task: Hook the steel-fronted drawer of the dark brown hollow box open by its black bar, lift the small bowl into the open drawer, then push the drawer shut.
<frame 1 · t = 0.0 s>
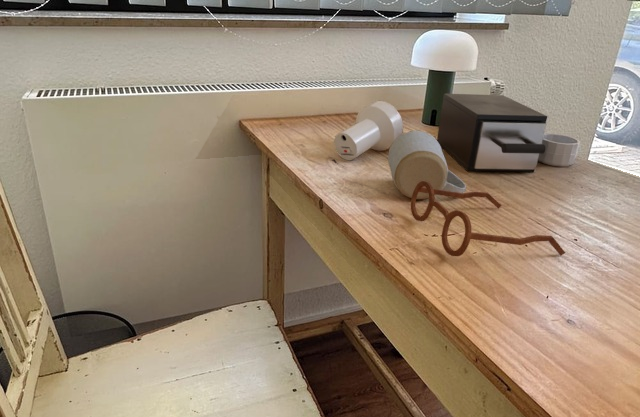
glasses: (480, 235, 57), on the table
drawer: (496, 137, 79), point 5 cm above the table, slide at 0.0 cm
dark brown hollow box: (481, 156, 85), on the table
spotlight: (366, 154, 84), on the table
ceramic mug: (423, 192, 69), on the table
bowl: (553, 161, 84), on the table
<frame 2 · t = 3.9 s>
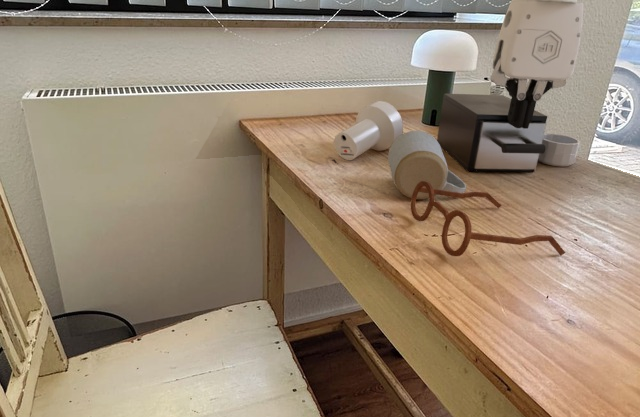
hand: (517, 125, 72), 8 cm above the table, tool pointing down, fingers closed
drawer: (496, 137, 79), point 5 cm above the table, slide at 0.0 cm, touching gripper
everything else where it was.
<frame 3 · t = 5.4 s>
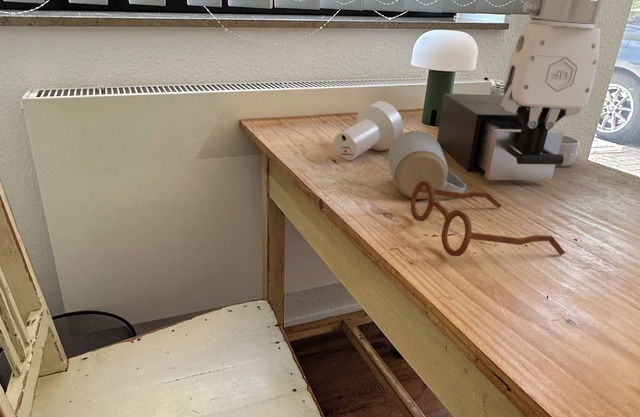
hand: (528, 154, 68), 5 cm above the table, tool pointing down, fingers closed
drawer: (509, 146, 75), point 5 cm above the table, slide at 4.8 cm, touching gripper
everything else where it was.
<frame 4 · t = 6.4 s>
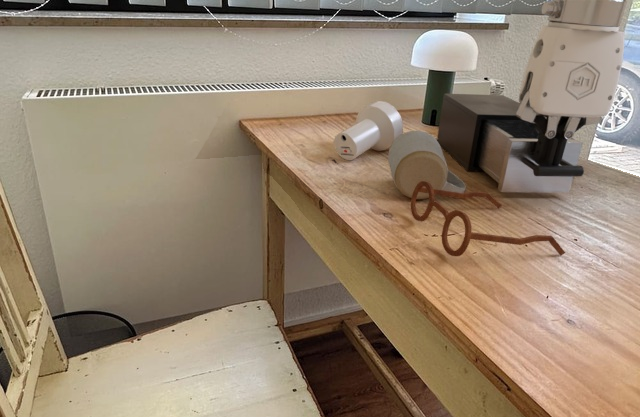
hand: (545, 165, 64), 5 cm above the table, tool pointing down, fingers closed
drawer: (524, 155, 71), point 5 cm above the table, slide at 9.5 cm, touching gripper
everything else where it was.
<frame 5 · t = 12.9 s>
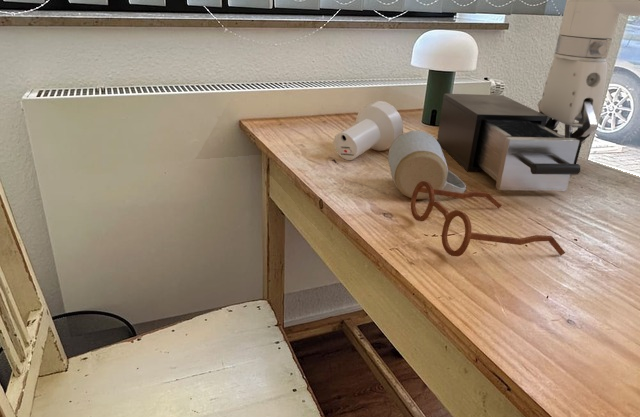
hand: (554, 157, 84), 1 cm above the table, tool pointing down, fingers closed on bowl, 6 cm apart
drawer: (521, 154, 71), point 5 cm above the table, slide at 8.7 cm
bowl: (553, 161, 84), on the table, touching gripper
everything else where it was.
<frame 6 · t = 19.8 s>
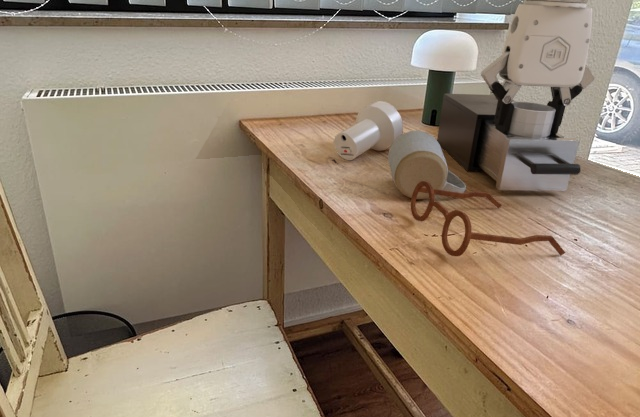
hand: (525, 129, 70), 8 cm above the table, tool pointing down, fingers closed on bowl, 6 cm apart
drawer: (521, 154, 71), point 5 cm above the table, slide at 8.7 cm, touching gripper
bowl: (524, 134, 70), point 8 cm above the table, touching gripper
everything else where it was.
when the fingers open (8 cm above the table, at t = 19.8 s): bowl drops 6 cm, resting on drawer.
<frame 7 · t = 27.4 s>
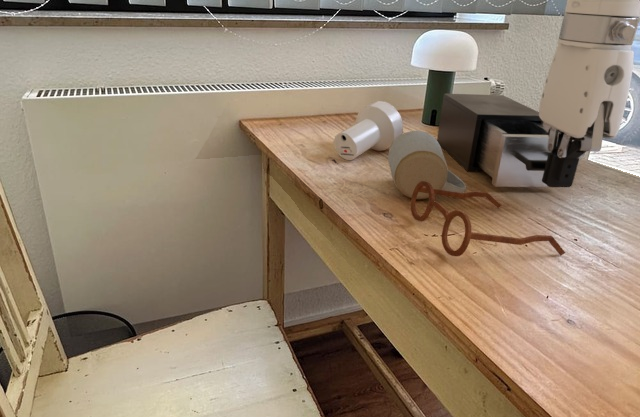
hand: (556, 184, 63), 4 cm above the table, tool pointing down, fingers closed
drawer: (517, 151, 73), point 5 cm above the table, slide at 7.4 cm, touching bowl, gripper
bowl: (511, 167, 74), point 2 cm above the table, touching drawer
everything else where it was.
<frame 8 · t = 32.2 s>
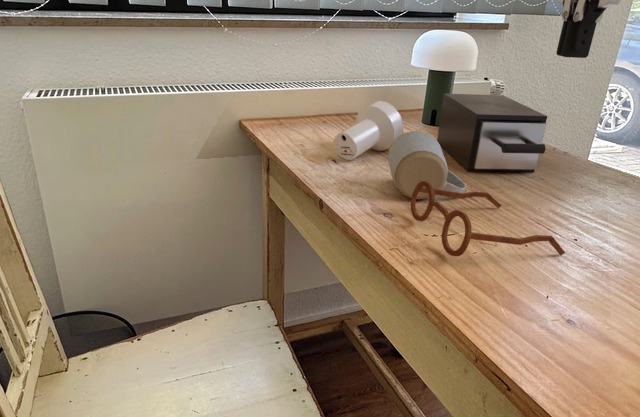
hand: (571, 56, 60), 19 cm above the table, tool pointing down, fingers closed
drawer: (496, 137, 79), point 5 cm above the table, slide at 0.0 cm, touching bowl
bowl: (491, 152, 80), point 2 cm above the table, touching drawer
everything else where it was.
at the end: drawer pulled out 9.5 cm at the most during the clip, back to where it started at the end; bowl inside the target area in the dark brown hollow box (3.8 cm from its centre), point 2.0 cm above the dark brown hollow box's base; drawer slide at 0.0 cm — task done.
